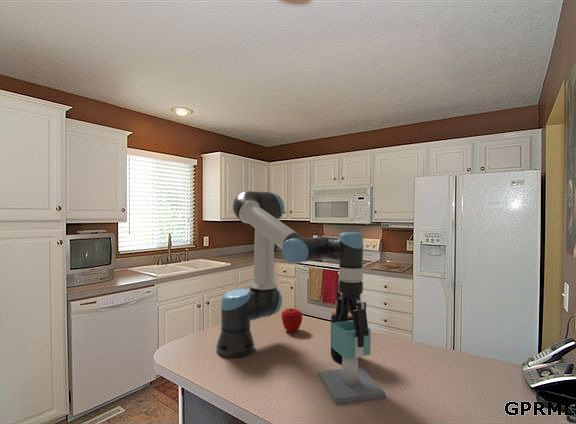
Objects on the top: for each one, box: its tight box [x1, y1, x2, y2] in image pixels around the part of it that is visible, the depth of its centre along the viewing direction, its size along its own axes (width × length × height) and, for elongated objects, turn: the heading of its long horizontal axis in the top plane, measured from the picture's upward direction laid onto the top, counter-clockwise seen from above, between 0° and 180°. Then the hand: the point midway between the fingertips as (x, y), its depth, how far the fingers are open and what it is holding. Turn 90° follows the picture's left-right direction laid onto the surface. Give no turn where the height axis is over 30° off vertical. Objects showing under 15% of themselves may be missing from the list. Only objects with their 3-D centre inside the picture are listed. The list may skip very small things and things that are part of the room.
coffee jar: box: [330, 307, 355, 364], centre depth 120 cm, size 11×11×18 cm
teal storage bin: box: [330, 320, 372, 359], centre depth 100 cm, size 9×9×8 cm
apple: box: [281, 308, 303, 333], centre depth 147 cm, size 10×10×11 cm
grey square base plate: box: [318, 357, 386, 404], centre depth 100 cm, size 16×16×12 cm
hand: (350, 350), depth 100 cm, fingers closed on teal storage bin, 9 cm apart
